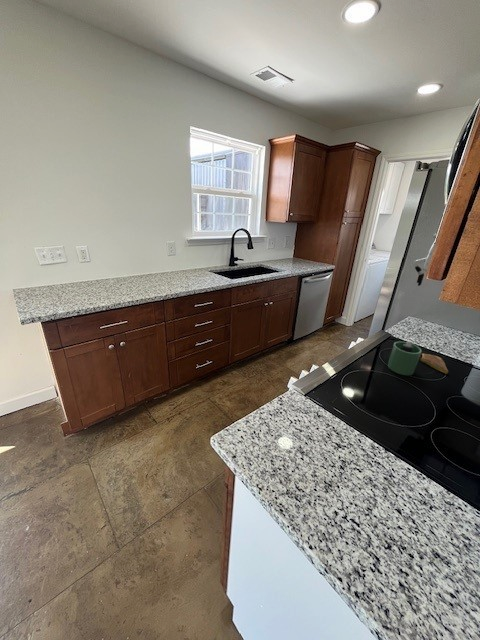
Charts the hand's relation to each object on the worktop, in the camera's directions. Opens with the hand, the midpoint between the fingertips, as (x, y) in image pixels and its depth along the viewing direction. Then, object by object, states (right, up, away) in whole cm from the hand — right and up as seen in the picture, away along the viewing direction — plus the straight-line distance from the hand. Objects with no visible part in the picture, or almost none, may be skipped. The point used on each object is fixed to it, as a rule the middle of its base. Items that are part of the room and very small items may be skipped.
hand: (434, 287), depth 96 cm
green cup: (-11, -30, +2) cm, 32 cm away
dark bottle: (-11, -29, +2) cm, 31 cm away
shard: (+5, -29, +5) cm, 30 cm away
